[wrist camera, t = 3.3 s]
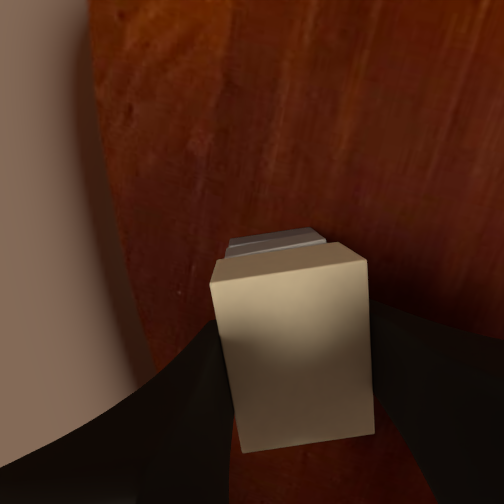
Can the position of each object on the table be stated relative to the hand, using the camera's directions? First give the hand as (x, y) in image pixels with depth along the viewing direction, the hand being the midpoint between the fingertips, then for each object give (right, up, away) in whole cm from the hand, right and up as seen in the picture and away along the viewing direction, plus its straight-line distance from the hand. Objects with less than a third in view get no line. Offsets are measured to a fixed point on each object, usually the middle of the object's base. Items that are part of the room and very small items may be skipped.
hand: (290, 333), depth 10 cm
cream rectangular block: (0, 0, +1) cm, 1 cm away
